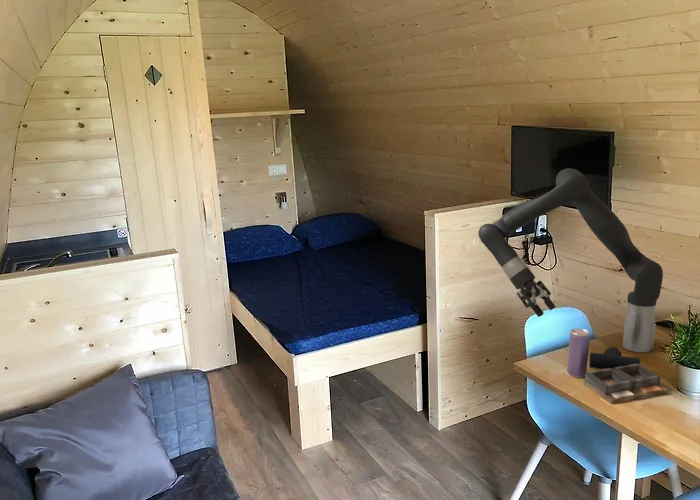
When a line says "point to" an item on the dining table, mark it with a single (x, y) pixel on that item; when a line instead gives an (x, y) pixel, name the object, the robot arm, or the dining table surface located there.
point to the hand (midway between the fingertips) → (547, 312)
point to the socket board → (624, 383)
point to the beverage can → (578, 353)
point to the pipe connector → (611, 359)
